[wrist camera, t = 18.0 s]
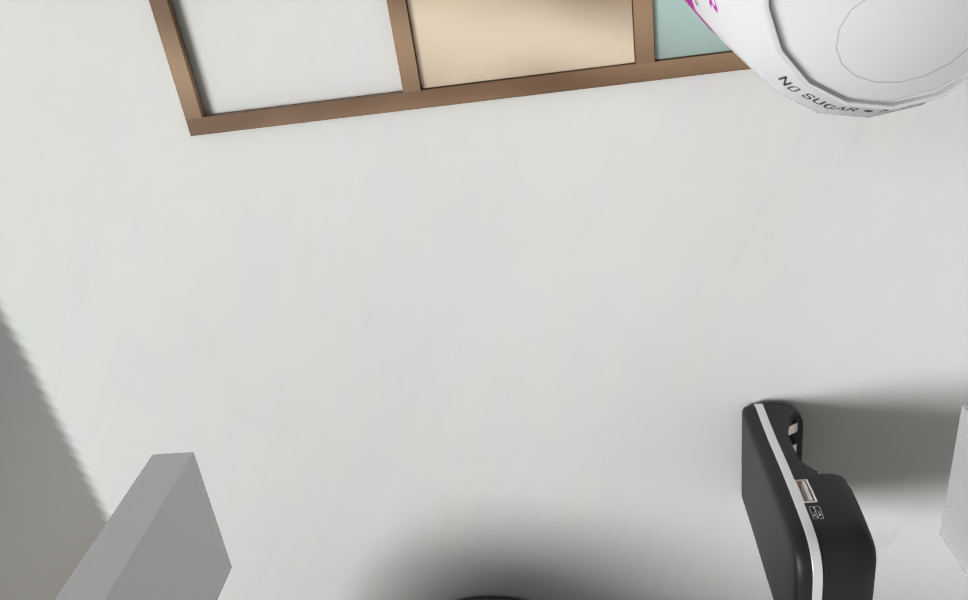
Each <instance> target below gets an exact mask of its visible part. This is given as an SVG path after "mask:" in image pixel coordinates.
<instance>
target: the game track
mask: <svg viewBox="0 0 968 600" xmlns="http://www.w3.org/2000/svg"><path fill="white" fill-rule="evenodd" d="M149 2H150V5H151V8H152V12H153V15H154V18H155V21H156V25H157V28H158V31H159V34H160V38H161V41H162V44H163V47H164V50H165V54H166V57H167V60H168V63H169V67H170V70H171V73H172V76H173V80H174V83H175V86H176V89H177V92H178V96H179V99H180V102H181V105H182V109H183V112H184V115H185V118H186V122H187V125H188V128H189V131H190V134H191V136H195V135H204V134H212V133H220V132H229V131H237V130H245V129H253V128H262V127H270V126H278V125H287V124H295V123H303V122H312V121H320V120H328V119H337V118H345V117H353V116H362V115H370V114H378V113H387V112H395V111H403V110H412V109H420V108H428V107H437V106H445V105H453V104H462V103H470V102H478V101H487V100H495V99H503V98H511V97H520V96H528V95H536V94H545V93H553V92H561V91H570V90H578V89H586V88H595V87H603V86H611V85H620V84H628V83H636V82H645V81H653V80H661V79H670V78H678V77H686V76H695V75H703V74H711V73H720V72H728V71H736V70H745V69H751V68H750V67H749V66H748V65H747V64H746V63H745V62H744V61H743V60H742V59H741V58H740V57H738V56H737V55H736V54H735V53H734V52H733V51H732V50H731V49H730V48H729V47H728V46H727V45H726V44H725V43H724V42H723V41H722V40H721V39H720V38H719V37H718V36H717V35H716V34H714V33H713V32H712V31H711V30H710V29H709V28H708V27H707V26H706V25H705V24H704V23H703V22H702V21H701V20H700V19H699V18H698V17H697V16H696V15H695V14H694V12H693V11H692V10H691V9H690V8H689V7H688V6H687V4H686V3H685V2H684V1H683V0H653V3H652V0H387V5H388V10H389V16H390V21H391V27H392V32H393V38H394V43H395V49H396V54H397V60H398V65H399V71H400V76H401V82H402V87H403V91H398V92H390V93H382V94H374V95H366V96H357V97H349V98H341V99H333V100H325V101H317V102H309V103H301V104H293V105H284V106H276V107H268V108H260V109H252V110H244V111H236V112H228V113H219V114H211V115H205V113H204V110H203V107H202V103H201V100H200V97H199V93H198V90H197V87H196V83H195V80H194V76H193V73H192V70H191V66H190V63H189V60H188V56H187V53H186V50H185V46H184V43H183V39H182V36H181V33H180V29H179V26H178V23H177V19H176V16H175V13H174V9H173V6H172V3H171V0H149ZM407 2H408V4H407ZM632 3H633V18H632ZM408 8H409V10H408ZM409 14H410V16H409ZM410 20H411V22H410ZM633 23H634V38H633ZM411 26H412V28H411ZM653 26H654V30H653ZM412 32H413V34H412ZM413 38H414V40H413ZM414 43H415V46H414ZM634 44H635V59H634ZM415 49H416V51H415ZM730 50H731V51H730ZM722 51H723V52H722ZM654 52H655V56H654ZM714 52H715V53H714ZM706 53H707V54H706ZM698 54H699V55H698ZM416 55H417V57H416ZM690 55H691V56H690ZM681 56H682V57H681ZM673 57H674V58H673ZM665 58H666V59H665ZM657 59H658V60H657ZM417 61H418V63H417ZM633 62H634V63H633ZM625 63H626V64H625ZM616 64H617V65H616ZM608 65H609V66H608ZM600 66H601V67H600ZM418 67H419V69H418ZM592 67H593V68H592ZM584 68H585V69H584ZM576 69H577V70H576ZM568 70H569V71H568ZM560 71H561V72H560ZM551 72H552V73H551ZM419 73H420V75H419ZM543 73H544V74H543ZM535 74H536V75H535ZM527 75H528V76H527ZM519 76H520V77H519ZM511 77H512V78H511ZM503 78H504V79H503ZM420 79H421V81H420ZM495 79H496V80H495ZM486 80H487V81H486ZM478 81H479V82H478ZM470 82H471V83H470ZM462 83H463V84H462ZM454 84H455V85H454ZM421 85H422V87H421ZM446 85H447V86H446ZM438 86H439V87H438ZM430 87H431V88H430Z"/></svg>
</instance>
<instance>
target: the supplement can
mask: <svg viewBox="0 0 968 600" xmlns="http://www.w3.org/2000/svg"><path fill="white" fill-rule="evenodd" d="M683 1H684V2H685V3H686V4H687V6H688V7H689V8H690V9H691V10H692V11H693V12H694V14H695V15H696V16H697V17H698V18H699V19H700V20H701V21H702V22H703V23H704V24H705V25H706V26H707V27H708V28H709V29H710V30H711V31H712V32H713V33H714V34H716V35H717V36H718V37H719V38H720V39H721V40H722V41H723V42H724V43H725V44H726V45H727V46H728V47H729V48H730V49H731V50H732V51H733V52H734V53H735V54H736V55H737V56H738V57H740V58H741V59H742V60H743V61H744V62H745V63H746V64H747V65H748V66H749V67H750V68H751V69H752V70H753V71H754V72H755V73H756V74H757V75H758V76H759V77H760V78H761V79H762V80H764V81H765V82H766V83H767V84H768V85H769V86H770V87H771V88H772V89H773V90H774V91H775V92H777V93H779V94H781V95H783V96H785V97H787V98H789V99H791V100H793V101H795V102H797V103H799V104H801V105H803V106H805V107H807V108H809V109H811V110H813V111H815V112H817V113H823V114H834V115H845V116H856V117H867V118H869V117H873V116H877V115H882V114H886V113H890V112H894V111H898V110H902V109H907V108H911V107H915V106H919V105H922V104H924V103H926V102H928V101H931V100H935V99H939V98H942V97H943V96H945V95H947V94H949V93H950V92H952V91H954V90H956V89H957V88H959V87H961V86H963V85H964V84H966V83H968V0H683Z"/></svg>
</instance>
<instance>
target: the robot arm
mask: <svg viewBox="0 0 968 600" xmlns="http://www.w3.org/2000/svg"><path fill="white" fill-rule="evenodd" d="M940 535H941V537H942V538H943V540H944V542H945V543H946V545H947V546H948V548H949V549H950V551H951V553H952V554H953V556H954V557H955V559H956V560H957V562H958V564H959V565H960V567H961V568H962V570H963V571H964V573H965V575H966V576H967V578H968V405H962V410H961V415H960V421H959V427H958V432H957V438H956V444H955V449H954V455H953V461H952V467H951V472H950V478H949V484H948V489H947V495H946V501H945V506H944V512H943V518H942V524H941V529H940ZM231 568H232V567H231V564H230V561H229V558H228V554H227V551H226V548H225V545H224V542H223V539H222V536H221V533H220V530H219V527H218V524H217V521H216V518H215V515H214V512H213V509H212V506H211V503H210V500H209V497H208V494H207V491H206V488H205V485H204V482H203V479H202V476H201V473H200V470H199V467H198V464H197V461H196V458H195V455H194V452H190V453H173V454H157V455H152V457H151V458H150V460H149V461H148V463H147V464H146V466H145V467H144V468H143V470H142V471H141V473H140V474H139V476H138V477H137V479H136V480H135V482H134V483H133V485H132V486H131V488H130V489H129V491H128V492H127V494H126V495H125V497H124V498H123V500H122V501H121V503H120V504H119V506H118V507H117V509H116V510H115V512H114V513H113V514H112V516H111V517H110V519H109V520H108V522H107V523H106V525H105V526H104V528H103V529H102V531H101V532H100V534H99V535H98V537H97V538H96V540H95V541H94V543H93V544H92V546H91V547H90V549H89V550H88V552H87V553H86V555H85V556H84V558H83V559H82V561H81V562H80V564H79V565H78V567H77V568H76V569H75V571H74V573H73V574H72V575H71V577H70V578H69V580H68V581H67V583H66V584H65V586H64V587H63V589H62V590H61V592H60V594H59V595H58V596H57V598H56V599H55V600H217V599H218V597H219V595H220V592H221V590H222V588H223V586H224V583H225V581H226V579H227V577H228V574H229V572H230V570H231ZM465 600H515V599H507V598H473V599H465Z"/></svg>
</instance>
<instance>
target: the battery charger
mask: <svg viewBox="0 0 968 600" xmlns="http://www.w3.org/2000/svg"><path fill="white" fill-rule="evenodd" d="M802 435H803V423H802V418H801V416H800V414H799V412H798V411H797V410H796V409H795V408H793V407H790V406H786V405H778V404H770V405H763V404H762V403H761V404H754V406H747V407H745V408H744V409H743V411H742V498H743V501H744V504H745V508H746V511H747V514H748V517H749V520H750V523H751V526H752V530H753V533H754V536H755V539H756V543H757V546H758V550H759V553H760V556H761V560H762V563H763V566H764V570H765V573H766V576H767V580H768V583H769V586H770V589H771V592H772V596H773V599H774V600H872V599H873V590H874V580H875V570H876V550H875V545H874V541H873V539H872V536H871V533H870V531H869V528H868V526H867V523H866V521H865V518H864V516H863V514H862V511H861V509H860V507H859V504H858V502H857V500H856V498H855V496H854V494H853V492H852V490H851V488H850V487H849V485H848V484H847V482H846V480H845V479H844V478H842V477H841V476H839V475H835V474H818V473H817V471H815V470H813V469H811V468H810V467H808V466H807V465H805V464H804V463H803V462H801V455H802Z"/></svg>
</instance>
